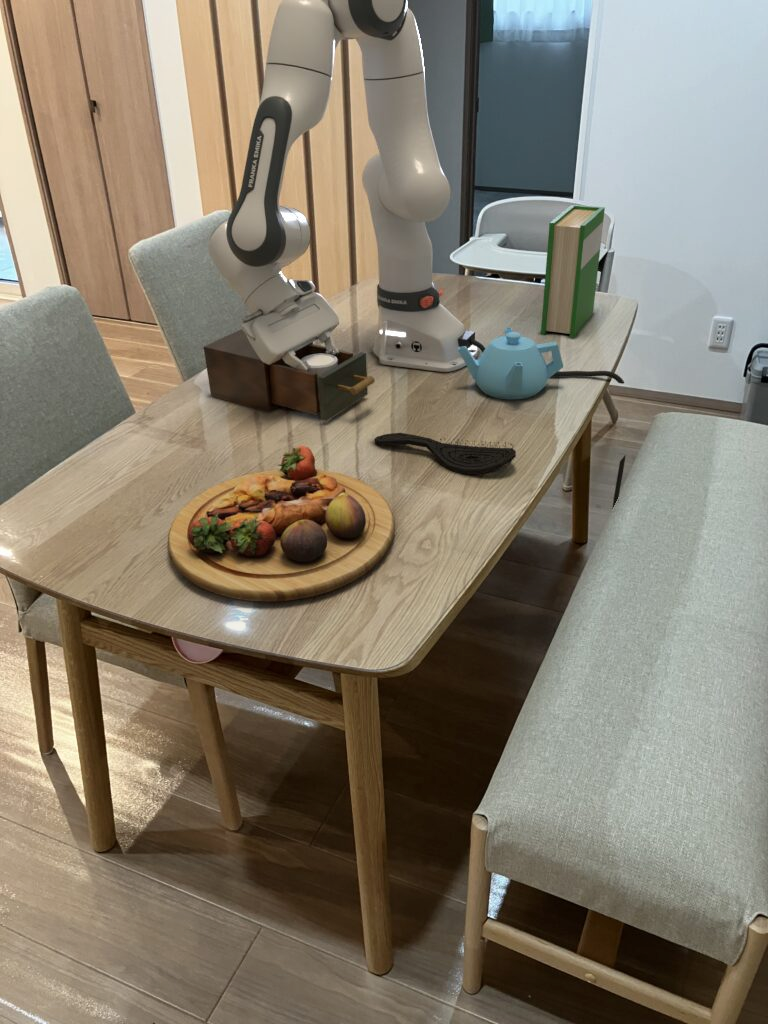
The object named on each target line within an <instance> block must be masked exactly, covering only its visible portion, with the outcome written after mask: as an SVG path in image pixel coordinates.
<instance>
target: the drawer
mask: <svg viewBox="0 0 768 1024" xmlns="http://www.w3.org/2000/svg"><path fill="white" fill-rule="evenodd" d="M338 350H339V354H338V355H337V356H336V357H337V360H338V366H336V367H334V368H332V369H331V370H329V371H327V372H326V373H324V374H322V375H320V376H319V377H318V383H317V374H316V373H312V372H308V371H304V370H299V369H296V368H294V367H292V366H290V365H288V364H286V363H285V362H284V360H283V359H280V360H278V361H276V362H274V363H272V364H270V365H268V364H267V370H268V379H269V388H270V397H271V403H273V404H277V405H280V406H279V407H284V408H288V409H291V410H296V411H299V412H303V413H307V414H311V415H315V416H319V415H320V420H321V421H324V422H328V421H329V420H331V419H332V418H334V417H335V416H337V415H338V414H340V413H341V412H343V411H344V410H346V409H348V408H349V407H350V406H352V405H354V404H355V403H357V402H358V401H359V400H361V399H363V398H365V397H366V396H367V395H368V394H369V393H368V392H369V391H368V390H369V389H368V387H370V386H371V385H372V384H374V383H375V377H374V376H373V375H369V376H368V368H367V367H368V366H367V352H363V351H359V352H357V354H355V355H354V353H353V352H350V351H345V350H341V349H338ZM326 351H327V349H326V346H323V345H319V344H314V343H313V344H308V345H306V346H304V347H303V348H301V349H299V350H297V351H295V353H296V355H295V356H296V357H297V358H298V359H300V360H301V359H302V358H304V357H306V356H308V355H312V354H326V353H325V352H326ZM318 384H319V396H318ZM319 397H320V401H319Z"/></svg>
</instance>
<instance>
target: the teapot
mask: <svg viewBox="0 0 768 1024" xmlns="http://www.w3.org/2000/svg"><path fill="white" fill-rule="evenodd" d="M558 344H559V343H558V341H550V342H544V343H538V344H536V342H535V341H534V340H533V339H531V338H529V337H527V336H522V334H521V333H519V332H516V331H513V328H512V327H505V330H504V335H502V336H497V337H495V338H493V339H492V340H490V342H489V343H488V345H487V346H486V347H485V348H486V349H485V350H484V352H483V353H482V352H481V355H480V356H479V358H478V359H476V358H474V357H473V356H472V354H471V353H470V352H469V350H468V349H467V348H466V346H462V347H458V350H459V352H460V354H461V356H462V358H463V360H464V362H465V364H466V367H467V369H468V371H469V373H470V375H471V377H472V379H473V380H474V382H475V384H476V385H477V387H478V388H479V389H480V390H481V391H482V392H483V393H484V394H486V395H487V396H489V397H492V398H496V399H501V400H523V399H528V398H532V397H533V396H536V395H537V394H539V393H540V392H541V390H543V389H544V387H546V385H547V383H548V381H549V379H550V378H551V377H554V376H553V375H554V374H555V373H556V372H560V371H561V369H563V368H564V363H563V358H562V355H561V352H560V348H559V345H558ZM548 352H551V359H552V360H551V361H550V362H549V363H548V364H547V363H546V360H545V358H544V356H543V354H544V353H548Z"/></svg>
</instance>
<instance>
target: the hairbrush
mask: <svg viewBox="0 0 768 1024" xmlns="http://www.w3.org/2000/svg"><path fill="white" fill-rule="evenodd" d="M373 439H374V444H375V445H378V446H403V445H404V446H405V445H409V446H415V447H421V448H426V449H427V450H428V451H429V452H430V453H431V454H432V455H433V456H434V457H435V458H436V459H437V461H438V462H439V463H440V464H441V465H442V466H443V467H445V468H446V469H449V470H450V471H452V472H453V473H458V474H464V475H483V474H486V473H488V472H492V471H496V470H499V469H501V468H503V467H504V466H506V465H508V464H510V463H511V462H512V461H513V460H514V459H515V458H516V457H517V455H516V454H517V450H515V449H514V443H509V446H508V447H507V441H505V442H504V446H503V447H501V445H499V443H500V442H497V444H498V447H495V446H494V444H495V442H493V444H491V443H492V441H489V445H488V446H485V444H484V441H482V440H481V441H480V443H482V444H481V445H482V446H481V445H480V446H478V445H476V444H475V442H476V443H478V440H476V441H475V440H474V443H473V445H468V444H469V443H468V442H469V440H466V442H465V443H462V442H460V443H459V440H460V439H459V438H458V439H457V440H456V444H454V443H453V442H452V441H451V442H450V443H449V442H446V443H444V442H442V438H440V439H439V441H438V440H435V439H432V438H431V437H430V438H429V437H424V436H421V435H416V434H411V433H405V432H393V433H384V434H382V435H378V436H376V437H374V438H373ZM443 439H444V441H445V440H446V438H443ZM452 439H453V441H454V440H455V438H452ZM485 443H487V441H486V440H485ZM463 444H464V445H463ZM510 446H511V447H510Z"/></svg>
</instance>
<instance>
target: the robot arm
mask: <svg viewBox="0 0 768 1024" xmlns="http://www.w3.org/2000/svg"><path fill="white" fill-rule="evenodd" d="M279 3H280V4H278V7H277V10H276V13H275V17H274V21H273V24H272V28H271V32H270V36H269V42H268V46H267V47H268V48H267V53H266V62H265V70H264V78H263V85H262V91H261V98H260V101H259V104H258V108H257V111H256V114H255V117H254V121H253V124H252V128H251V134H250V138H249V144H248V149H247V155H246V160H245V166H244V172H243V175H242V176H243V177H242V182H241V187H240V191H239V195H238V198H237V199H236V203H235V204H234V206H233V208H232V210H231V212H230V214H229V217H228V219H227V220H225V221H223V222H222V223H220V224H219V225H218V226H216V228H215V229H214V230H213V232H212V233H211V235H210V237H209V240H208V243H207V249H208V250H207V251H208V253H209V256H210V258H211V260H212V262H213V264H214V266H215V267H216V269H217V270H218V272H219V273H220V274H221V276H222V277H223V278H224V280H225V282H226V283H227V284H228V285H229V286H230V287H231V289H233V290H234V291H236V292H237V294H238V295H239V296H240V298H241V301H242V303H243V304H244V306H245V307H246V308H247V310H248V311H249V312H250V314H249V315H245V316H243V317H242V320H241V323H240V326H241V327H240V328H241V329H242V330H243V331H244V333H245V334H246V335H247V338H248V340H249V342H250V344H251V345H252V347H253V349H254V350H255V352H256V353H257V355H258V356H259V358H260V359H261V360H262V362H264V363H266V364H268V365H270V364H272V363H274V362H276V361H278V360H280V359H283V360H284V362H285V363H286V364H288V365H290V366H292V367H294V368H296V369H299V370H304V371H308V372H309V370H310V369H311V367H310V365H308V363H307V361H304V362H303V361H301V360H300V359H298V358H297V357H296V356H295V355H296V353H295V351H297V350H299V349H301V348H303V347H304V346H306V345H308V344H310V343H312V342H313V343H314V342H316V341H317V340H319V342H320V343H321V344H324V347H326V349H327V351H326V352H325V353H326V354H330V355H333V356H335V357H336V356H337V355H338V354H339V350H340V349H338V348H337V346H336V345H335V340H334V336H333V331H334V330H335V329H336V328H338V326H339V325H340V320H339V319H340V318H339V316H338V314H337V313H336V311H335V310H334V308H332V306H331V304H329V302H328V301H327V300H326V298H324V296H322V295H321V294H320V293H318V292H315V290H316V286H315V284H314V283H313V281H311V280H307V279H291V278H288V279H287V278H286V276H285V275H284V274H283V273H282V270H283V268H285V267H287V266H288V265H290V264H292V263H293V262H295V261H297V260H298V259H299V258H301V257H302V256H303V255H305V253H306V252H307V251H308V249H309V247H310V244H311V239H312V231H311V225H310V223H309V221H308V219H307V217H306V216H305V215H304V214H303V213H302V212H301V211H300V210H298V209H296V208H294V207H290V206H285V205H280V196H281V192H282V187H283V180H284V175H285V170H286V165H287V159H288V156H289V152H290V150H291V148H292V146H293V144H294V143H295V142H296V141H297V140H298V139H299V138H300V137H301V136H302V135H304V134H305V133H306V132H308V131H310V130H312V129H313V128H315V127H316V126H317V125H318V124H319V123H320V122H321V121H322V120H323V118H324V116H325V112H326V110H327V107H328V104H329V100H330V96H331V88H332V80H333V74H334V65H335V52H336V50H337V47H338V45H339V43H340V41H341V40H356V42H357V45H358V46H359V48H360V51H361V65H362V66H361V67H362V68H361V69H362V78H363V85H364V92H365V93H364V94H365V105H366V112H367V120H368V126H369V129H370V131H371V132H372V135H373V137H374V141H375V142H376V143H375V144H376V146H377V149H378V152H379V153H376V154H375V155H372V156H371V157H370V158H369V159H368V161H366V163H365V165H364V167H363V169H362V175H361V181H362V187H363V188H364V191H365V194H366V197H367V200H368V206H369V210H370V216H371V221H372V224H373V231H374V236H375V243H376V248H377V265H378V266H377V268H378V270H377V271H378V284H377V285H376V303H377V308H378V320H377V329H376V336H375V341H374V345H373V348H372V351H373V354H374V355H375V356H376V357H377V358H378V361H379V362H378V363H379V364H381V365H384V366H385V365H386V366H391V367H392V366H393V367H399V368H400V367H401V368H409V369H416V370H423V371H432V372H440V373H449V372H450V373H451V372H454V371H457V370H460V369H462V368H464V367H467V365H466V364H465V362H464V360H463V358H462V356H461V354H460V352H459V350H458V347H462V346H466V348H467V349H468V350H469V352H470V353H471V354H472V356H473V357H474V358H475V359H476V358H477V357H478V355H479V350H480V351H481V354H482V353H483V352H484V350H485V349H486V347H485V346H484V345H483V344H482V343H481V342H479V341H477V340H476V331H472V330H466V327H465V325H464V323H462V322H461V321H460V320H459V319H458V318H457V317H456V316H454V315H453V314H452V313H451V312H450V311H449V310H448V309H447V308H446V307H444V305H442V304H441V300H440V297H442V296H444V293H443V292H444V291H445V289H440V290H439V291H438V290H437V288H436V286H435V284H434V283H433V251H434V250H433V244H432V241H431V239H430V237H429V233H428V230H427V226H426V223H430V222H433V221H435V220H436V219H438V218H440V217H441V216H443V214H444V212H445V211H446V210H447V208H448V206H449V203H450V200H451V186H450V182H449V180H448V178H447V177H446V175H445V173H444V171H443V169H442V166H441V163H440V159H439V155H438V151H437V148H436V144H435V140H434V136H433V132H432V129H431V123H430V119H429V113H428V102H427V88H426V77H425V76H426V75H425V66H424V56H423V49H422V43H421V38H420V33H419V29H418V25H417V21H416V17H415V15H414V13H413V11H412V10H411V8H410V7H408V0H282V1H281V2H279ZM478 349H479V350H478ZM552 377H560V378H561V377H562V378H563V377H608V378H612V379H613V380H615V381H616V382H617V383H618V384H625V381H624V379H623V378H622V377H621V376H620V375H618V374H617V373H615V372H613V371H609V370H593V371H587V370H586V371H585V370H566V371H565V370H564V371H558V372H556V373H555V374H554V375H553V376H552ZM626 455H627V454H624V456H623V457H622V458H621V460H620V461H619V464H618V470H617V476H616V482H615V483H616V484H615V487H614V495H613V500H612V501H613V502H612V509H613V507H614V505H615V503H616V501H617V499H618V497H619V498H620V492H621V487H622V480H623V475H624V468H625V461H626ZM618 500H619V499H618ZM612 509H611V510H612Z"/></svg>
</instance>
